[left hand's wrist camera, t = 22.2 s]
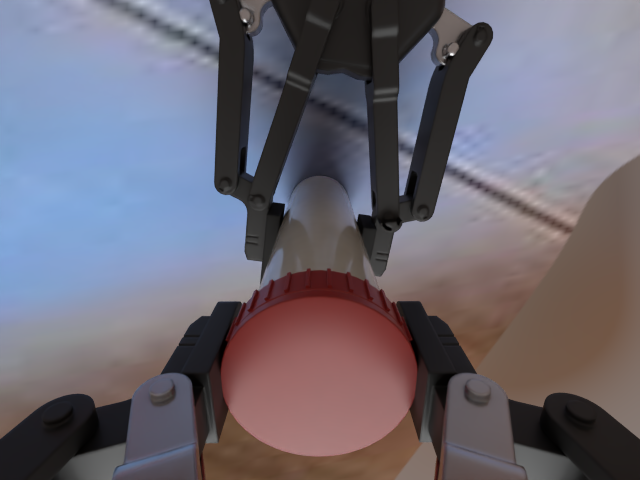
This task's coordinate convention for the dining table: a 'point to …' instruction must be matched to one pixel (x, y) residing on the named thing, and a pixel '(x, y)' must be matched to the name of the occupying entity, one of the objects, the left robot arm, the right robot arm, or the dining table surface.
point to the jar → (319, 234)
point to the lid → (319, 364)
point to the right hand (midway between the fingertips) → (307, 310)
